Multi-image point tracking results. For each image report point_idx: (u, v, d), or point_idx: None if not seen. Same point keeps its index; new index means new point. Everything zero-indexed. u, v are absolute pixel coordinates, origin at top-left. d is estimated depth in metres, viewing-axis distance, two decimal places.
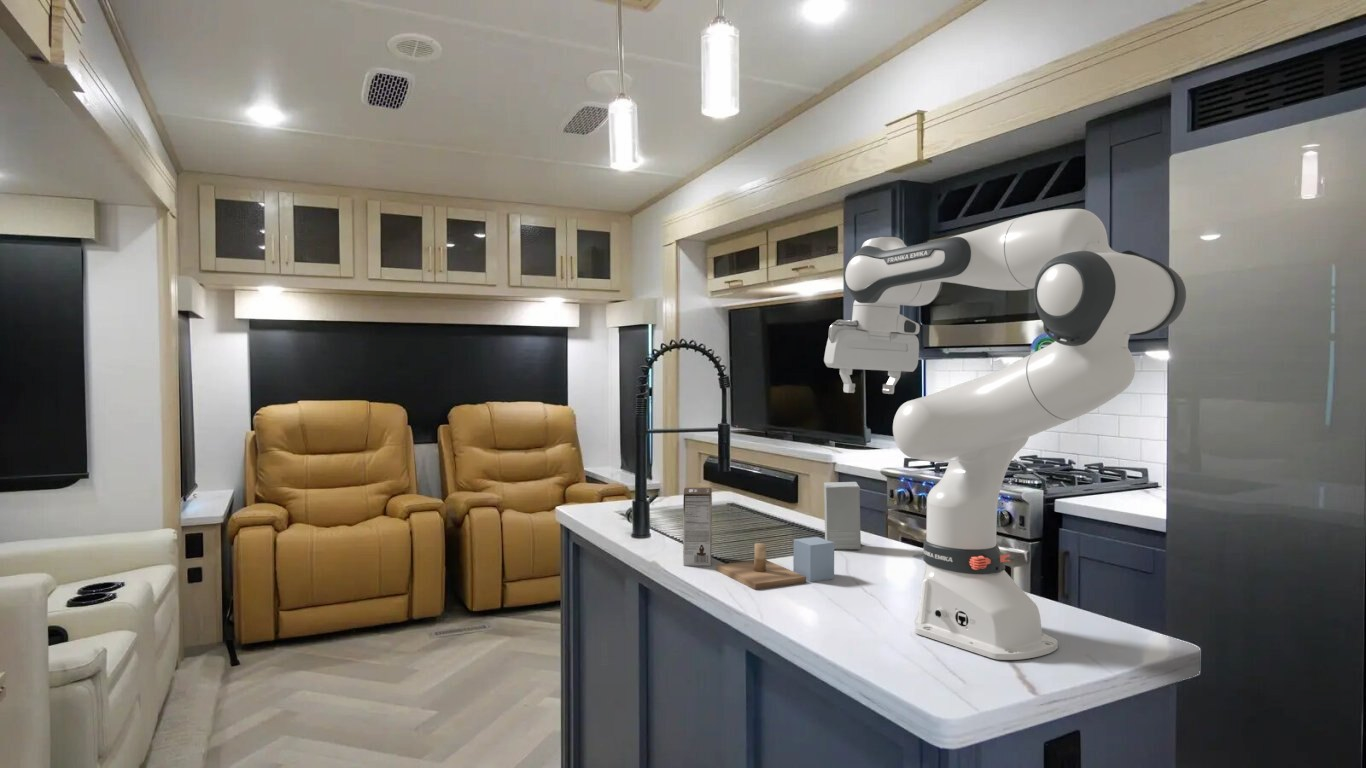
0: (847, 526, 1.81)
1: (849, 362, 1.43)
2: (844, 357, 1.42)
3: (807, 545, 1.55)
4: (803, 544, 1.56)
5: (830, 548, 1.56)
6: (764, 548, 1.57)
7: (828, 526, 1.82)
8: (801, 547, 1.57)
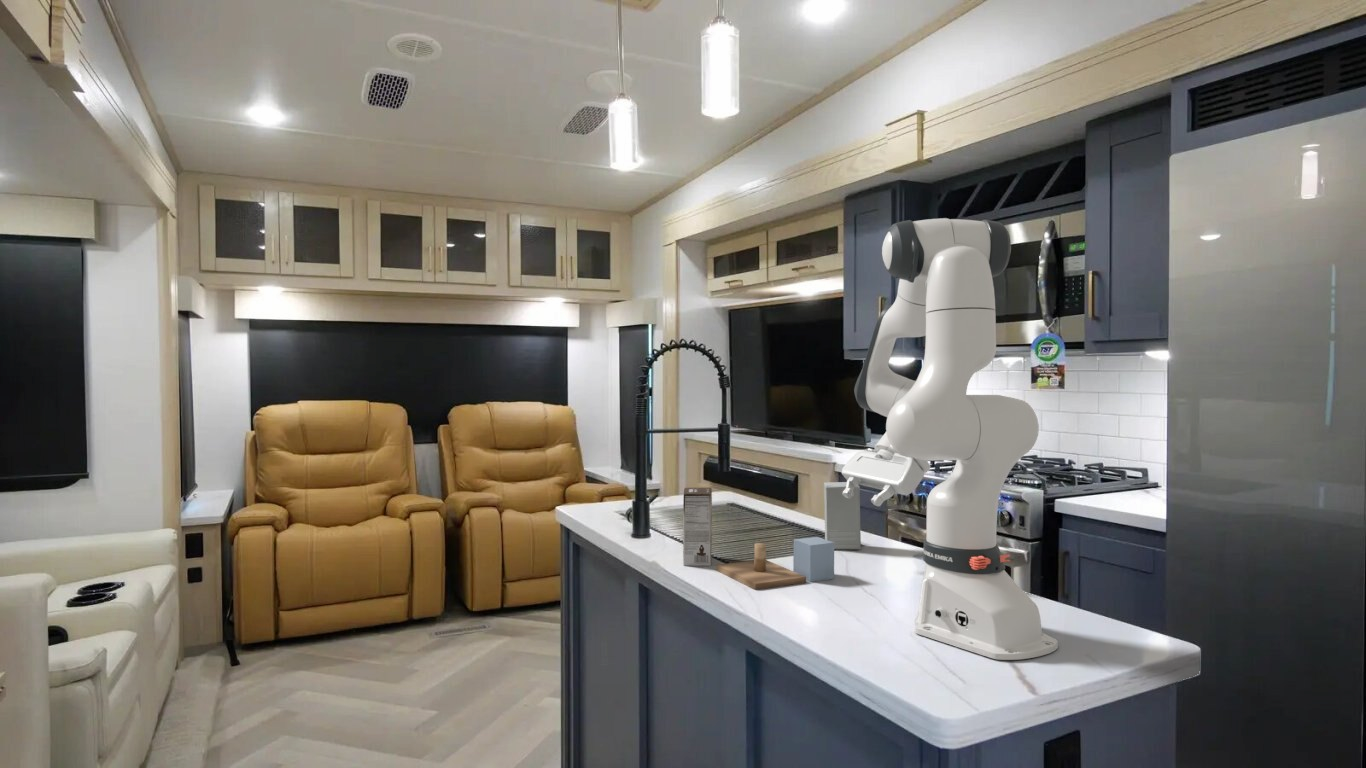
0: (847, 526, 1.81)
1: (851, 470, 1.70)
2: (850, 466, 1.72)
3: (807, 545, 1.55)
4: (803, 544, 1.56)
5: (830, 548, 1.56)
6: (764, 548, 1.57)
7: (828, 526, 1.82)
8: (801, 547, 1.57)
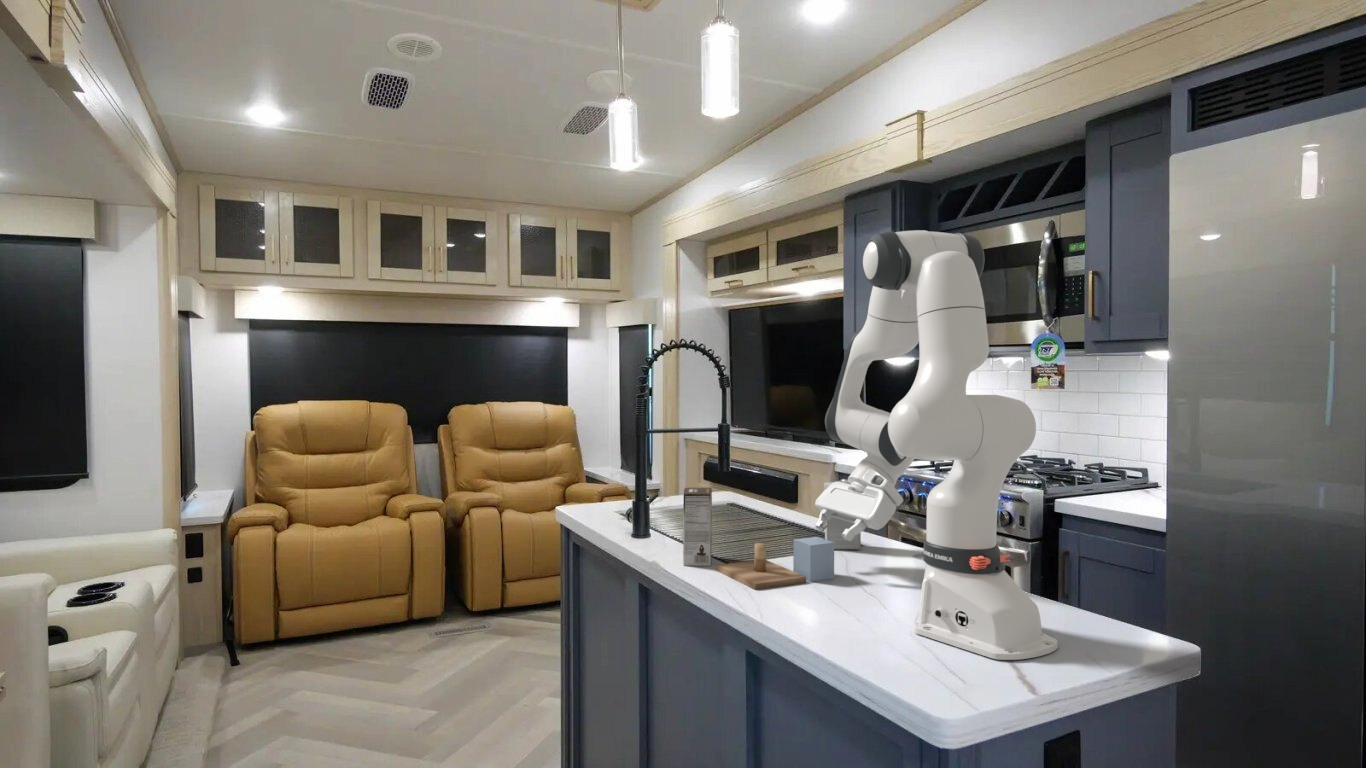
0: (847, 526, 1.81)
1: (824, 502, 1.67)
2: (823, 498, 1.68)
3: (807, 545, 1.55)
4: (803, 544, 1.56)
5: (830, 548, 1.56)
6: (764, 548, 1.57)
7: (828, 526, 1.82)
8: (801, 547, 1.57)
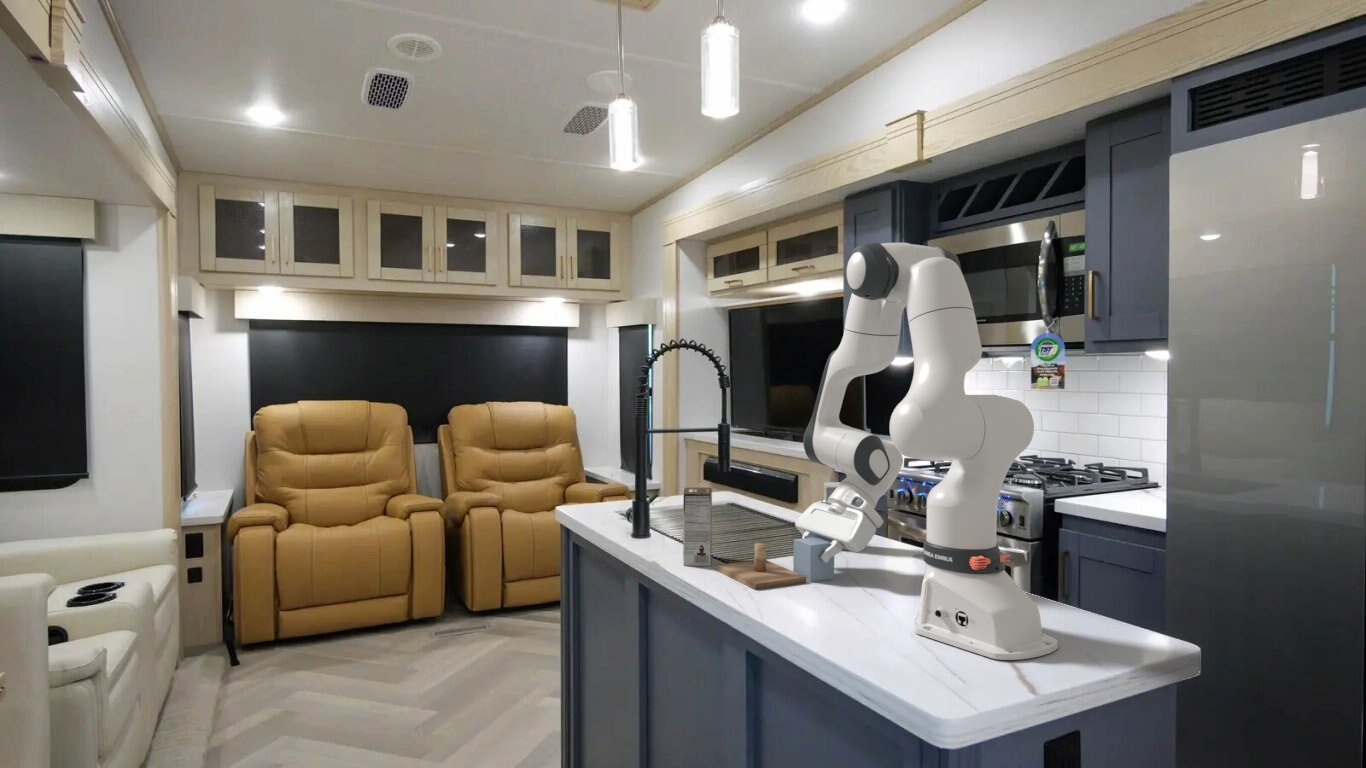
0: None
1: (804, 523, 1.65)
2: (803, 519, 1.66)
3: (807, 545, 1.55)
4: (803, 544, 1.56)
5: None
6: (764, 548, 1.57)
7: None
8: (801, 547, 1.57)
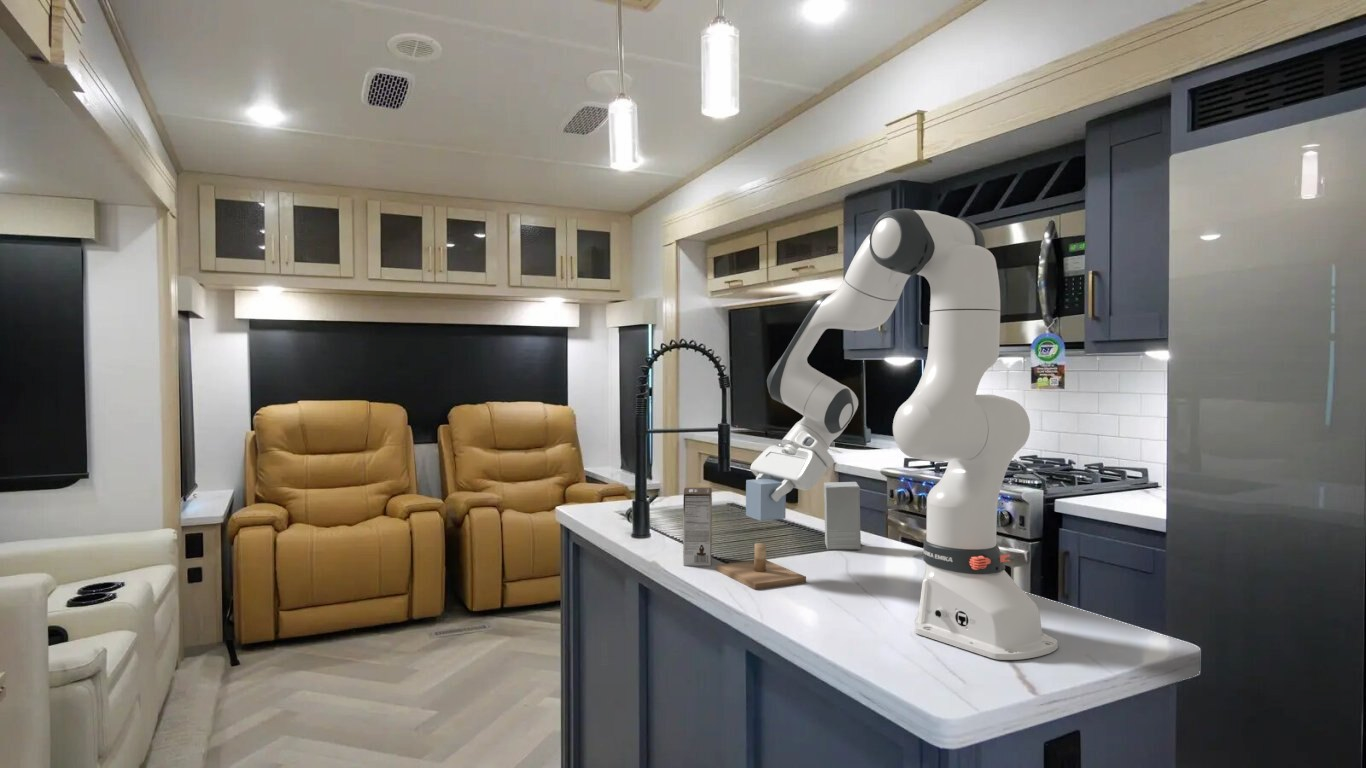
0: (847, 526, 1.81)
1: (759, 465, 1.65)
2: (758, 462, 1.66)
3: (758, 484, 1.55)
4: (754, 484, 1.56)
5: None
6: (764, 548, 1.57)
7: (828, 526, 1.82)
8: (753, 487, 1.57)
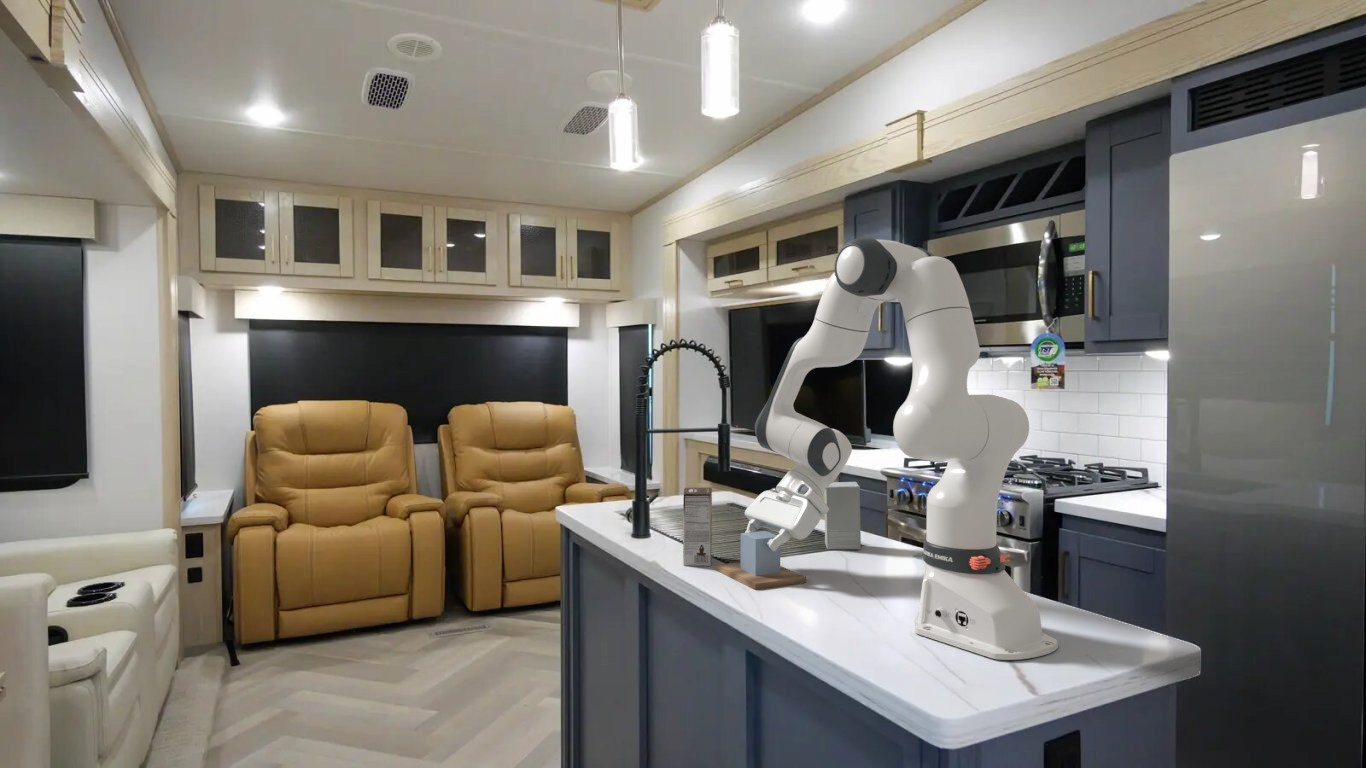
0: (847, 526, 1.81)
1: (753, 511, 1.65)
2: (752, 507, 1.66)
3: (753, 539, 1.55)
4: (749, 538, 1.56)
5: None
6: None
7: (828, 526, 1.82)
8: (747, 541, 1.57)
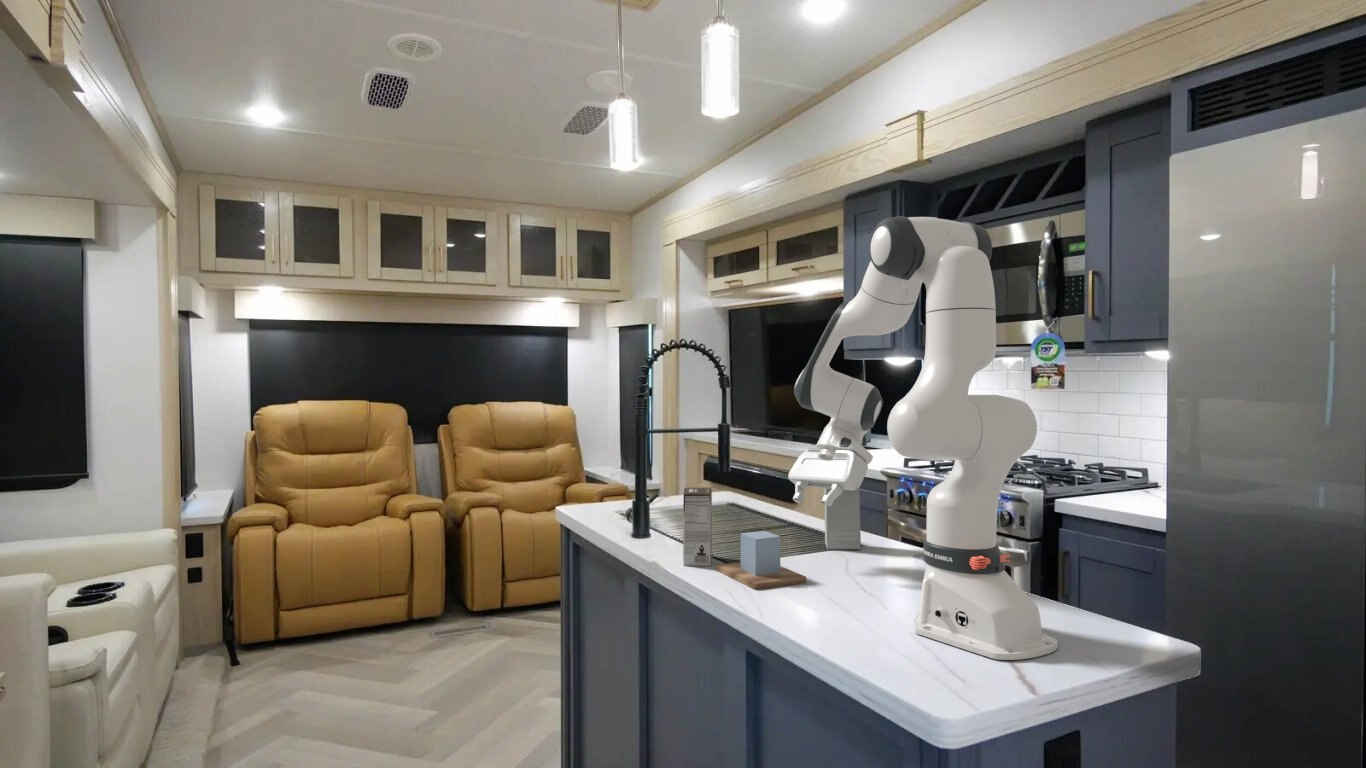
0: (847, 526, 1.81)
1: (797, 473, 1.69)
2: (795, 470, 1.71)
3: (753, 539, 1.55)
4: (749, 538, 1.56)
5: (776, 542, 1.56)
6: None
7: (828, 526, 1.82)
8: (747, 541, 1.57)
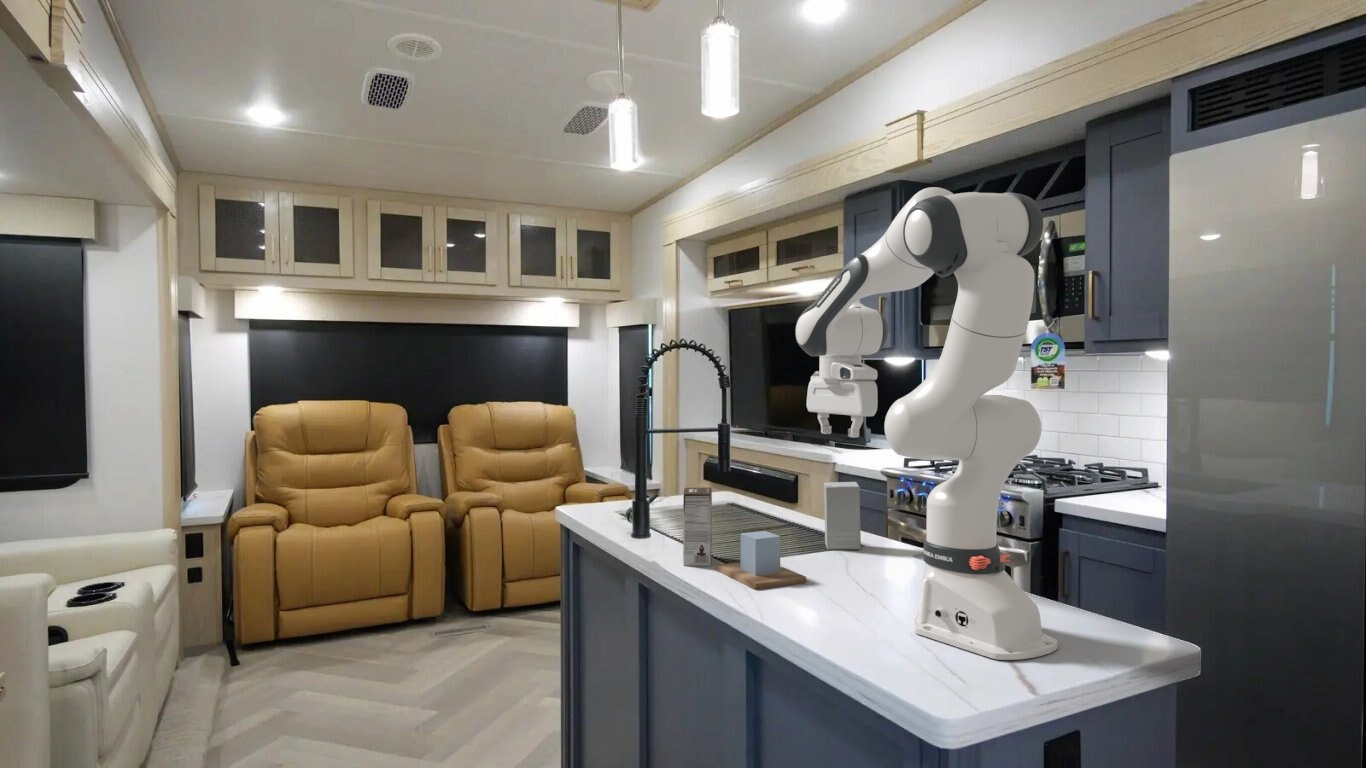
0: (847, 526, 1.81)
1: (815, 406, 1.68)
2: (811, 402, 1.69)
3: (753, 539, 1.55)
4: (749, 538, 1.56)
5: (776, 542, 1.56)
6: None
7: (828, 526, 1.82)
8: (747, 541, 1.57)
